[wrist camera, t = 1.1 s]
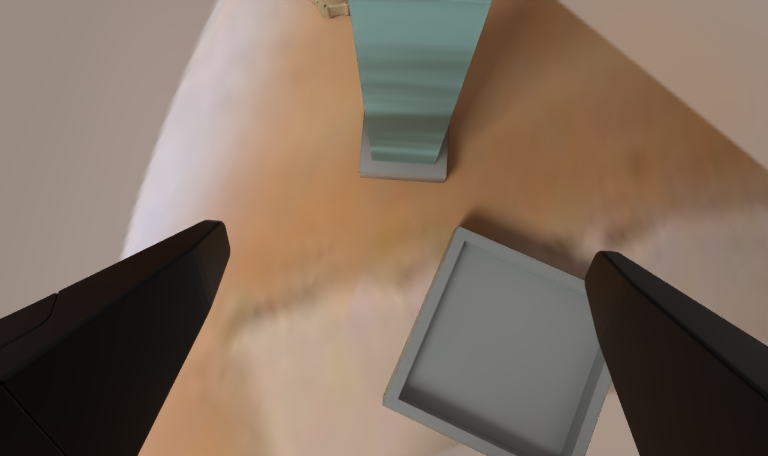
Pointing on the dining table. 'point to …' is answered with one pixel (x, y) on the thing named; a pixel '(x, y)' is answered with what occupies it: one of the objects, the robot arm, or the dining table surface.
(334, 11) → the handle
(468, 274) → the tray
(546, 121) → the dining table surface
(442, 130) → the teal green tall block
